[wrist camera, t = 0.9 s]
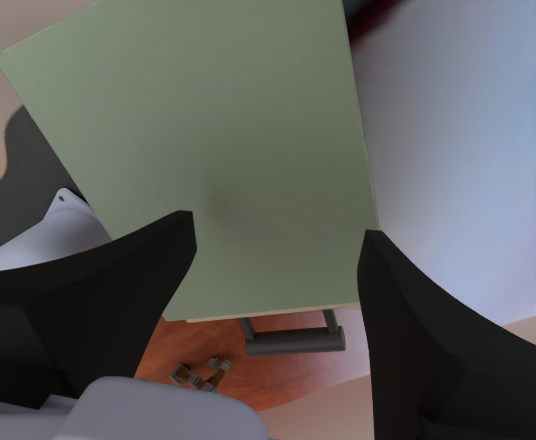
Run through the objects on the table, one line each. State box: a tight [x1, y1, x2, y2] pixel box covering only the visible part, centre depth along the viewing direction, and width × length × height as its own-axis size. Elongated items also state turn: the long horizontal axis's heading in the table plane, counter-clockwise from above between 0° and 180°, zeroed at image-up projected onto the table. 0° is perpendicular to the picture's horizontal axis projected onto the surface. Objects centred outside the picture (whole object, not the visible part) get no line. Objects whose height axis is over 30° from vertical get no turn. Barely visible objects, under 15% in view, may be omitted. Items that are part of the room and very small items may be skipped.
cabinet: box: [0, 0, 380, 321], centre depth 17 cm, size 16×14×8 cm
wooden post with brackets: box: [169, 356, 233, 394], centre depth 33 cm, size 2×8×4 cm, turn 123°
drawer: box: [186, 302, 361, 356], centre depth 19 cm, size 20×12×6 cm, turn 18°
